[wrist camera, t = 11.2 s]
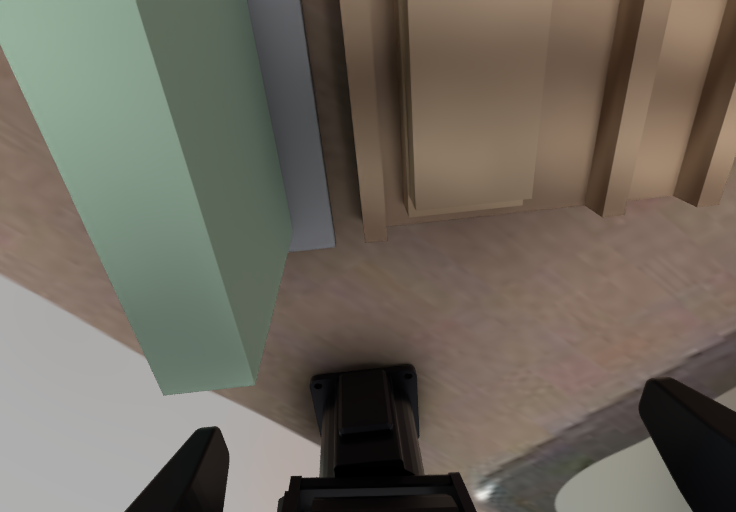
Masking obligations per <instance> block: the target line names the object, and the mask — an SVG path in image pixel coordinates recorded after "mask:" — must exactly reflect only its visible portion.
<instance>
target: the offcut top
mask: <svg viewBox="0 0 736 512" xmlns="http://www.w3.org/2000/svg"><path fill="white" fill-rule="evenodd" d="M401 2H402V24H403V47H404V69H405V91H406V113H407V136H408V158H409V180H410V198H411V201H412V203H413V205H414V208H415V210H416V211H421V210H431V209H440V208H449V207H458V206H468V205H477V204H486V203H496V202H505V201H514V200H524V199H532V192H533V182H534V173H535V163H536V154H537V144H538V134H539V125H540V115H541V106H542V96H543V87H544V77H545V67H546V58H547V48H548V39H549V29H550V19H551V10H552V0H401Z"/></svg>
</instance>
